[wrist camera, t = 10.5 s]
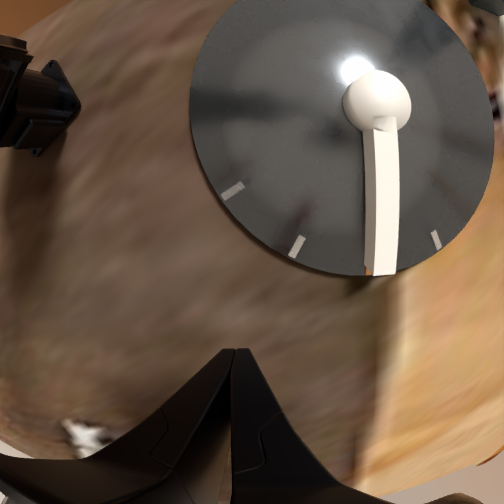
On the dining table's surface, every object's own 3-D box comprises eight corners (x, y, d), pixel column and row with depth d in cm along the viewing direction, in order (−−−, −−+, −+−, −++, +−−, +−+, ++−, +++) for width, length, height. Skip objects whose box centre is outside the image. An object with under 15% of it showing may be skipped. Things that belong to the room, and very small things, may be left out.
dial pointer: (339, 76, 16) (347, 67, 14) (394, 80, 16) (407, 74, 14) (348, 265, 20) (356, 277, 18) (398, 262, 20) (410, 272, 18)
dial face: (132, 70, 17) (128, 68, 16) (382, -49, 12) (384, -52, 11) (311, 326, 23) (312, 331, 22) (519, 180, 17) (524, 181, 17)
